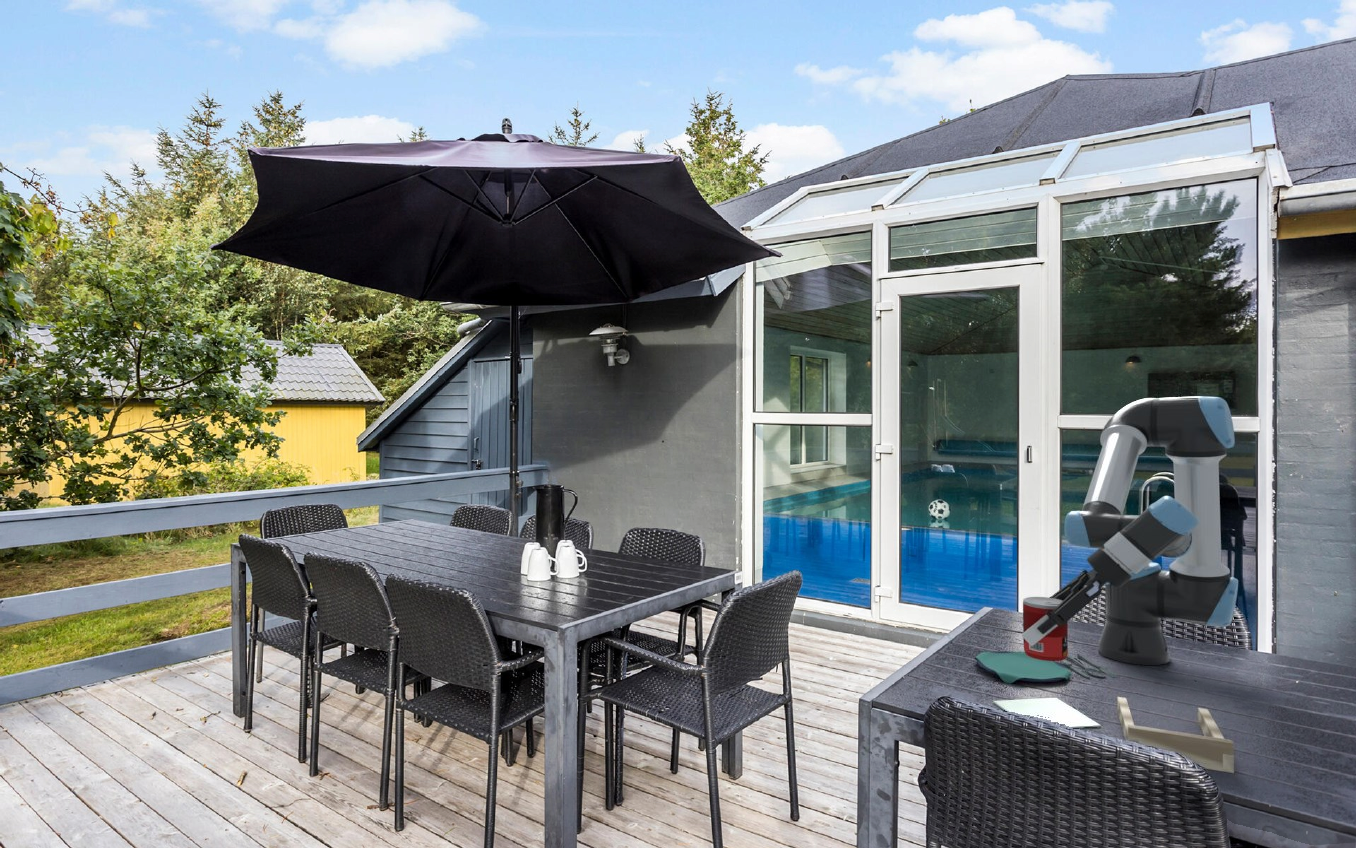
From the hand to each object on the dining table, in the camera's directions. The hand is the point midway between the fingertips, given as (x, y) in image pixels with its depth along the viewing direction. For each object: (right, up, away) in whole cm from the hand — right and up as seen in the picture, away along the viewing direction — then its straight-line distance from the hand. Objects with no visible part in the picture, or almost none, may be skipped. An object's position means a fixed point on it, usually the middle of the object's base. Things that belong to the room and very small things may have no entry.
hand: (1026, 634), depth 147 cm
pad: (+3, -16, -1) cm, 16 cm away
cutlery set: (+16, -16, +24) cm, 33 cm away
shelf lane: (+21, -16, -12) cm, 29 cm away
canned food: (+3, -4, -1) cm, 5 cm away
